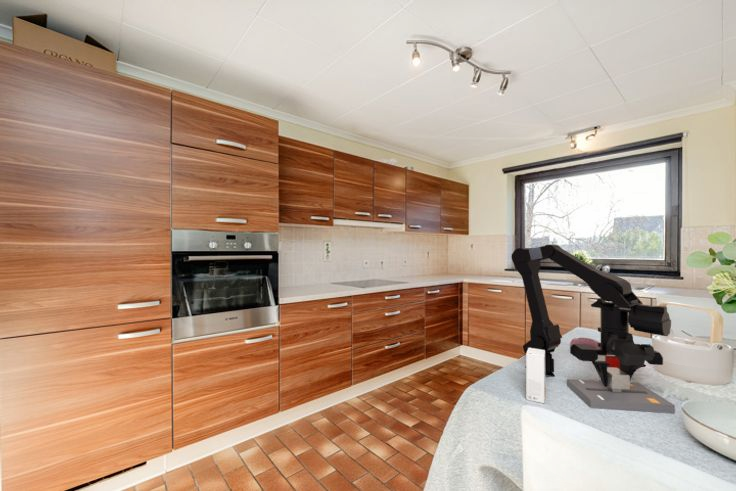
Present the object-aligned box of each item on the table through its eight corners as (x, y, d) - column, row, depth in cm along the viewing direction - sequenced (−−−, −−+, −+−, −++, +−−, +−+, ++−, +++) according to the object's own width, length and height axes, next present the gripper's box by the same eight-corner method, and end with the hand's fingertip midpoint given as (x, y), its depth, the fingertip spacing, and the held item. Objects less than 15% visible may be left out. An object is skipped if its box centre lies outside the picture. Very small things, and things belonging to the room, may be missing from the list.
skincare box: (545, 404, 77) (544, 356, 77) (526, 400, 80) (525, 353, 80) (546, 394, 83) (545, 349, 83) (528, 390, 85) (527, 347, 85)
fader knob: (612, 394, 78) (611, 374, 78) (600, 385, 83) (600, 366, 83) (629, 395, 77) (629, 375, 77) (617, 386, 82) (616, 367, 82)
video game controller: (603, 360, 110) (601, 341, 113) (604, 358, 106) (603, 338, 109) (570, 356, 115) (569, 337, 118) (570, 353, 112) (569, 334, 114)
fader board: (590, 407, 75) (590, 399, 75) (567, 385, 87) (567, 378, 87) (674, 413, 73) (674, 404, 73) (638, 389, 84) (638, 382, 84)
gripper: (591, 334, 74) (592, 399, 74) (681, 337, 71) (682, 405, 71) (569, 322, 85) (569, 379, 85) (646, 324, 82) (646, 383, 82)
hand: (614, 386), depth 80 cm, fingers closed on fader knob, 4 cm apart
